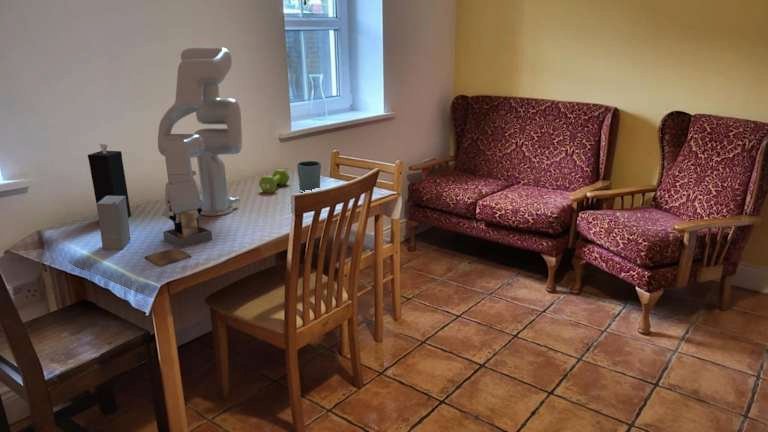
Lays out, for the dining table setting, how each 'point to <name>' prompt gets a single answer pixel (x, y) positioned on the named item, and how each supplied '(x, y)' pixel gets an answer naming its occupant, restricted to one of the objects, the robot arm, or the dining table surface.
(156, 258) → the walnut board
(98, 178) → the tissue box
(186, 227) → the beech block
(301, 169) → the grey cup
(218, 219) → the dining table surface
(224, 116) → the robot arm
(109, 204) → the skincare box
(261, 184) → the dumbbell
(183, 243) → the bin
